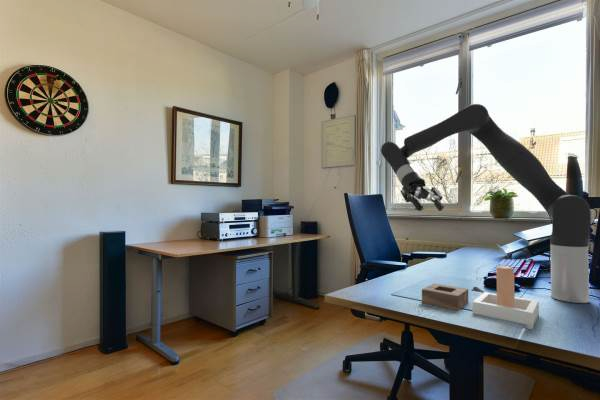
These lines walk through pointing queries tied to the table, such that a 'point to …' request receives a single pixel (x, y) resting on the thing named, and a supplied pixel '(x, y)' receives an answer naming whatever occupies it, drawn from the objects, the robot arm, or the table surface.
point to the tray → (508, 309)
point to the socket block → (445, 296)
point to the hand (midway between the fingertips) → (431, 209)
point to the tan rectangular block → (505, 286)
